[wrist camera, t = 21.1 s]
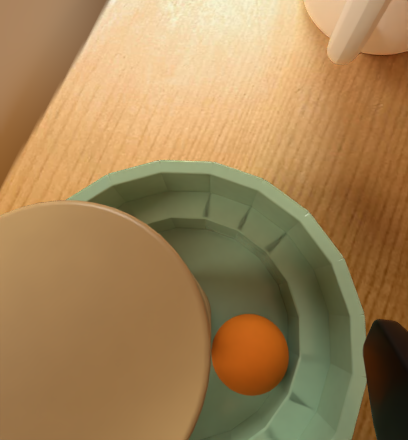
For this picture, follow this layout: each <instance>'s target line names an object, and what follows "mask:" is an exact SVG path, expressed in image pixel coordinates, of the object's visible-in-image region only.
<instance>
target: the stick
mask: <svg viewBox="0 0 408 440" xmlns="http://www.w3.org/2000/svg"><path fill="white" fill-rule="evenodd" d="M210 367H211V307H210V303H209V300H208V297H207V296H206V294H205V292H204V291H203V289H202V288H201V286H200V285H199V283H198V282H197V280H196V279H195V277H194V276H193V274H192V273H191V271H190V270H189V268H188V267H187V265H186V264H185V263H184V261H183V260H182V259H181V257H180V256H179V255H178V253H177V252H176V250H175V249H174V248H173V247H172V246H171V245H170V244H169V243H168V242H167V241H166V240H165V239H164V238H163V237H162V236H161V235H160V234H159V233H157V232H156V231H155V230H153V229H152V228H151V227H150V226H148V225H147V224H146V223H144V222H142V221H140V220H139V219H137V218H135V217H134V216H132V215H130V214H128V213H125V212H123V211H120V210H118V209H116V208H113V207H109V206H106V205H102V204H98V203H93V202H86V201H78V200H57V201H49V202H41V203H36V204H32V205H28V206H24V207H21V208H18V209H15V210H13V211H10V212H7V213H5V214H2V215H0V440H189V438H190V436H191V434H192V432H193V431H194V428H195V426H196V423H197V421H198V418H199V416H200V413H201V411H202V408H203V404H204V400H205V396H206V392H207V388H208V383H209V375H210Z"/></svg>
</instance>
